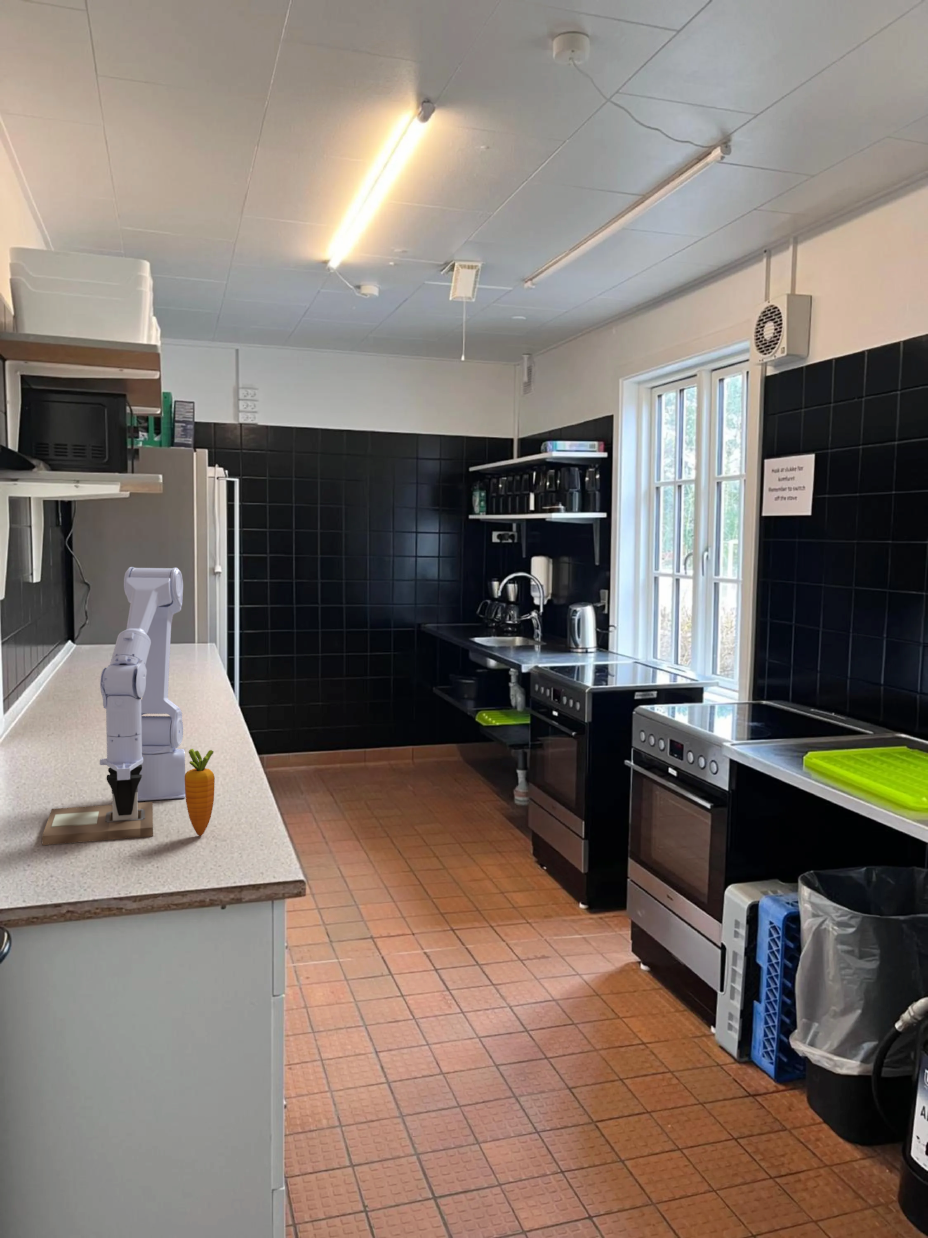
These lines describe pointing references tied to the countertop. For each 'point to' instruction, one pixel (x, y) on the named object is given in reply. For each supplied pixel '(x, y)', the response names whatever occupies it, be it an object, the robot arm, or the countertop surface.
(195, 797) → the carrot
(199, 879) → the countertop surface
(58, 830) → the brown board with panel
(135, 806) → the plug
